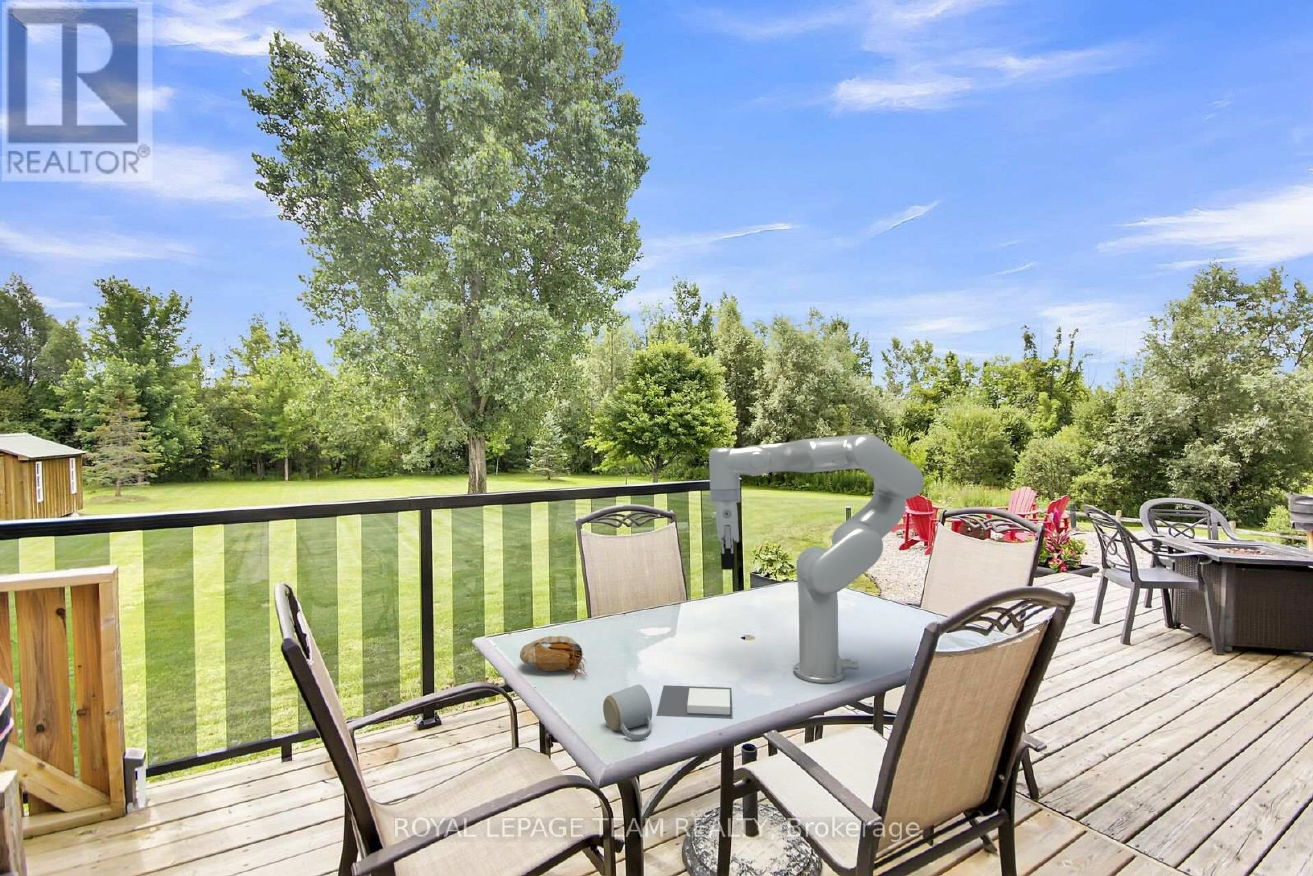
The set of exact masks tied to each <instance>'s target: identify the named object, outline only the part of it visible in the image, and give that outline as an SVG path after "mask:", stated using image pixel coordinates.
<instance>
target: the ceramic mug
mask: <svg viewBox="0 0 1313 876" xmlns="http://www.w3.org/2000/svg"><path fill="white" fill-rule="evenodd" d="M652 706H653V705H652V701H651V699H650V695H649V693H648V691H647V690H646V688H645V687H644V686H643V685H641V684H635V685H632V686H630V687H627V688H624V689H621V690H618V691H614V692H613V693H611V694H608V695H607V696H606V697H605V698H604V700H603V705H602V711H603V717H604V720H605V723H606V725H607V727H608V728H609V729H610V730H611V731H614V732H621V731H622V733H623V734H624V735H625V736H626V737H627V738H628V739H630V740H632V741H642V740H645V739H646V737H647V738H649V737H648V736H649V735H650V734H651V730H652V722H651V721H652V717H653V707H652ZM645 725H647V730H646V731H645V732H643V733H633V732H631V731H630V729H633V728H636V727H640V726H645ZM644 738H645V739H644ZM641 739H642V740H641Z"/></svg>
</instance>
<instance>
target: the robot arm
mask: <svg viewBox="0 0 1313 876" xmlns="http://www.w3.org/2000/svg"><path fill="white" fill-rule="evenodd" d="M708 454H709V455H708V459H709V460H708V462H709V463H708V464H709V468H708V469H709V493H710V494H709V496H710V503H712V504H714V505H715V519H716V520H715V522H716V531H717V537H718V540H719V542H720V543H721V552H720V563H721V564H720V565H721V570H723V571H725V570H727V571H730V570H733V571H734V570H735V553H734V542H736V543H739V542H740V535H739V533H740V532H739V515H738V514H739V513H738V506H737V505H738V504H737V503H741V481H740V478H741V477H740V476H741V475H743V476H744V475H745V476H753V477H755V476H761V475H764V474H765V473H779V472H780V473H781V472H794V473H795V472H796V473H819V472H829V471H830V472H831V471H832V472H833V471H842V470H843V471H844V470H853V469H854V470H855V469H861V470H862V471H864V472H865V473H866V474H867V475H869V476H870V478H873V495H872V496H871V499H870V501H868V503H867V504H866V505H865V506H863V507H862V508H861V509H860V510H859V511H858V512H856V513H855V514H854V515H852V516H851V517H850V518H848V519H847V520H846V521H845V522H843V523H842V524H840V525H839V526H837V528H836V529H835V530H834V531H833V534H832V537H831V543H832V545H831V546H830V547H829V548H827V549H826V548H824V547H820V546H809V547H807V548H806V549H803V551H802V552H801V553H800V554H799V556H798V557H797V561H796V565H795V566H796V580H797V589H798V590H797V591H798V641H799V642H798V647H799V648H798V649H799V651H798V653H799V655H798V656H799V658H798V659H799V660H798V661H799V662H797V663H795V664H793V667H792V669H793V670H792V671H793V674H794V675H795V676H796V677H798V678H800V679H802V680H805V681H806V682H807V681H808V682H811V683H818V684H830V683H831V684H832V683H838V682H840V681H843V680H844V679H845V678H846V670H858V671H859V670H860V669H859V668H860V667H859V665H860V664H859V661H858V660H852V659H851V658H842V657H840V655H839V654H840V653H839V600H838V592H840V591H842V590H843V589H845V588H847V587H848V586H849V585H850V584H851V583H853V582H854V581H856V579H858V578H859V577H860V576H862V575H863V574H864V573H866V572H867V571H868V570H870V569H871V568H872V567H873V566H874V565H875V564H876V563H877V562H878V561H879V559H880V557H881V556H882V553H883V551H884V541H883V538H884V537H885V536H887V535H888V534H889V533H890V532H891V531H892V530H894V528H896V527H897V526H898V524H899V523H900V522H901V520H902V518H903V517H904V513H905V511H906V510H905V509H906V503H907V500H908V499H912V498H915V497H917V496H918V495H919V494H920V493H921V492H922V490H923V489H924V484H925V482H924V480H925V479H924V476H923V475H924V474H923V473H922V471H921V470H920V469H919V467H918V466H916V465H915V464H914V463H913V462H911V461H910V460H908V458H906V457H904V456H903V455H902V454H900V453H899V452H898V451H897V450H895V449H894V448H892V447H891V446H890V445H889V444H887V443H886V442H884V441H883V440H882V439H881V438H879V437H877V436H875V435H872V434H869V433H868V434H863V433H862V434H850V435H839V436H838V435H837V436H827V437H816V438H815V437H814V438H806V439H805V438H804V439H799V440H794V441H788V442H781V443H769V444H759V445H758V444H757V445H755V444H754V445H748V446H743V447H739V448H737V447H736V448H735V447H725V446H724V447H714V448H711V449H710V450H709V453H708Z"/></svg>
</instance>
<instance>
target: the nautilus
mask: <svg viewBox="0 0 1313 876" xmlns="http://www.w3.org/2000/svg"><path fill="white" fill-rule="evenodd" d="M519 659H520V660H521V661H522V663H524V664H525V665H527V666H531V667H534V668H535V669H537V670H538V671H540V672H555V671H558V670H560V671H567V672H568V671H569V672H572V673H574V678H573V680H575V679H576V677H578V675H577V674H579V675H581V676H582V675H583V676H584V677H588V674H587V673H586V672H585V666H584V663H587V660H585V658H584V657H583V648H582V647H581V645H580V644H579V643H578V642H577V641H576V640H574V639H573V638H572V637H569V636H568V635H567V636H566V635H563V636H562V635H559V636H558V635H557V636H551V635H550V636H546V637H541V638H538V639H536V640H533V641H531V642H529V643H527V644H525V645H523V647H522V648H521V650H520V652H519ZM582 660H584V662H582ZM580 664H581V665H582V666H581V665H580ZM578 670H580V672H579V671H578ZM583 673H584V674H583Z"/></svg>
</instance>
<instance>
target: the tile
mask: <svg viewBox="0 0 1313 876" xmlns="http://www.w3.org/2000/svg"><path fill="white" fill-rule="evenodd" d="M687 713H688V714H695V715H719V716H729V714H730V689H704V688H689V696H688V703H687Z"/></svg>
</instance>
